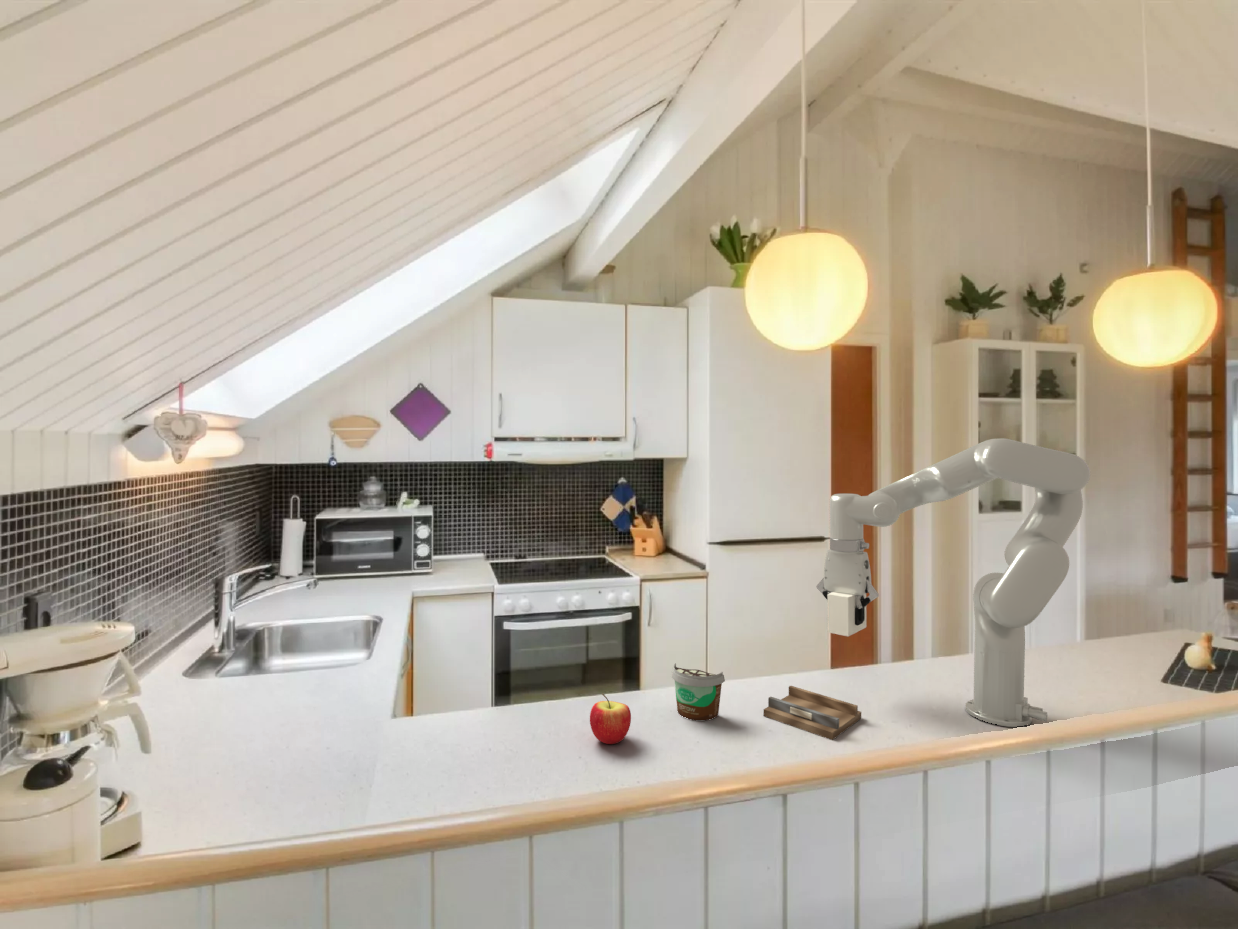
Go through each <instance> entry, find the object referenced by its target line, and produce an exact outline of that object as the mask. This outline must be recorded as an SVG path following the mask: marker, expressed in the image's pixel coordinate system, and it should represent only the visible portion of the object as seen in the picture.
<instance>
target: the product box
mask: <svg viewBox="0 0 1238 929" xmlns="http://www.w3.org/2000/svg"><path fill="white" fill-rule="evenodd" d="M864 597H865V598H866V597H867V593H864ZM826 601H827V633H829V634H833V635H835V634H836V635H839V636H844V637H851V636H852V635H854V634H856V633H858V632H859V631H862V630H864V629H866V628H867V606H865V619H864V621H863V623H862V624H860V625H855V608H857V605H856V602H855V595H851V594H844V593H838V592H832V593H829V594H827V599H826Z"/></svg>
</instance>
